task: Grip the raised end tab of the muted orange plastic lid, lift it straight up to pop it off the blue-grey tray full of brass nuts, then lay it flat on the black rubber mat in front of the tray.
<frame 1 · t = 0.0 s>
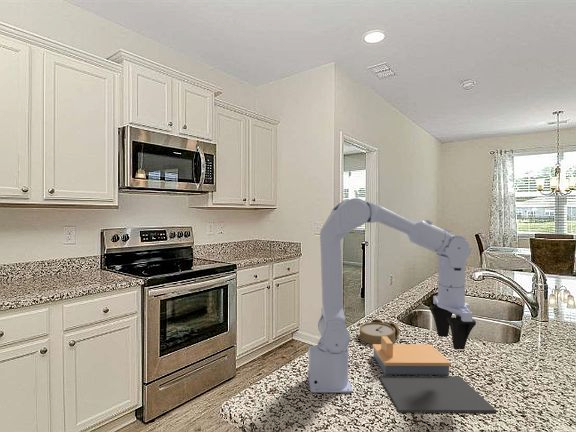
hand: (450, 342, 79), 10 cm above the worktop, tool pointing down, fingers open, 7 cm apart
lid: (409, 355, 89), point 2 cm above the worktop, touching blue-grey tray
alarm clock: (379, 338, 109), on the worktop
blue-grey tray: (409, 365, 89), on the worktop
mat: (432, 393, 75), on the worktop
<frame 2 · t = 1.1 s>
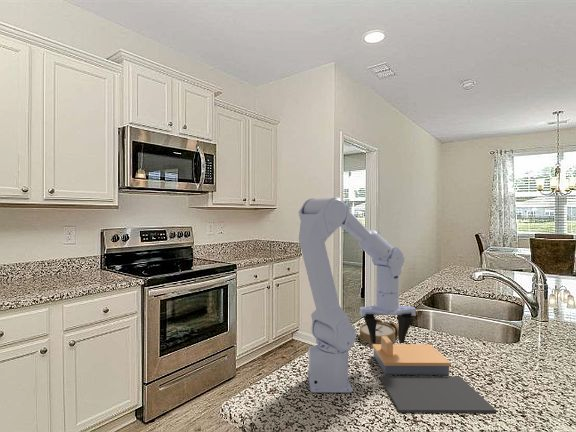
hand: (387, 342, 89), 6 cm above the worktop, tool pointing down, fingers open, 7 cm apart
nothing on the worktop moved.
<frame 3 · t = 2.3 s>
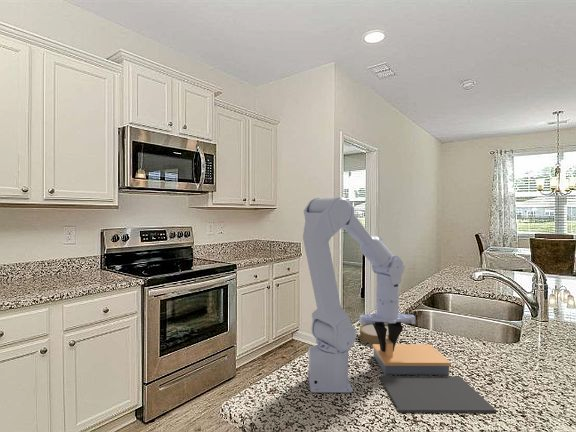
hand: (386, 350, 89), 4 cm above the worktop, tool pointing down, fingers closed on lid
lid: (409, 355, 89), point 2 cm above the worktop, touching gripper, blue-grey tray
everything else where it was.
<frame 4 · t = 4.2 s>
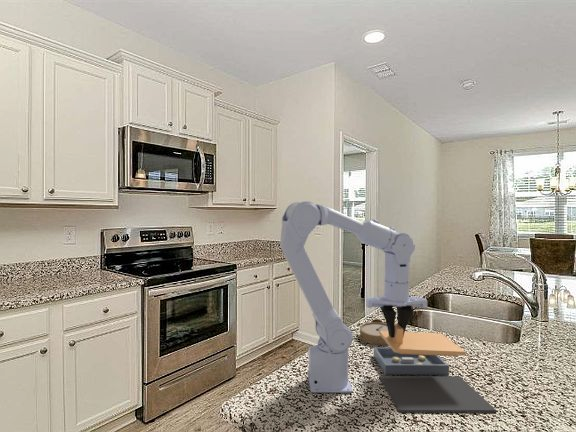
hand: (395, 336, 82), 10 cm above the worktop, tool pointing down, fingers closed on lid
lid: (419, 343, 82), point 8 cm above the worktop, touching gripper
everything else where it was.
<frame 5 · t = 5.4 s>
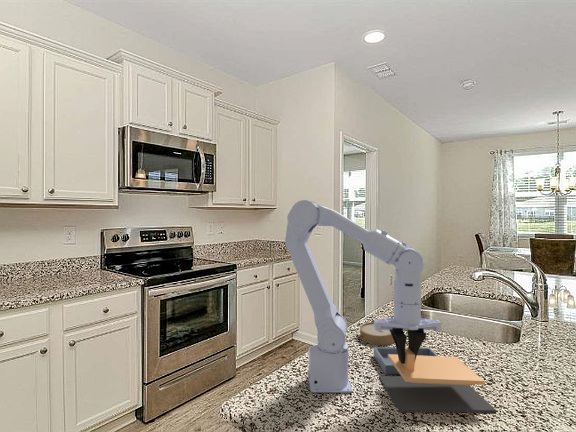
hand: (406, 361, 75), 7 cm above the worktop, tool pointing down, fingers closed on lid
lid: (432, 370, 75), point 5 cm above the worktop, touching gripper
everything else where it was.
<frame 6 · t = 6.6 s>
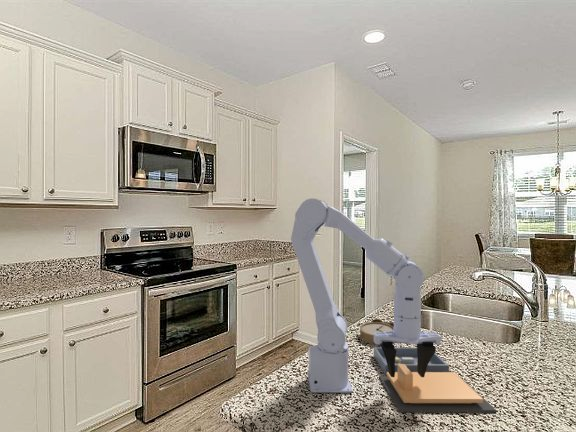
hand: (406, 375, 75), 4 cm above the worktop, tool pointing down, fingers open, 6 cm apart
lid: (431, 388, 75), point 1 cm above the worktop, touching mat
everything else where it was.
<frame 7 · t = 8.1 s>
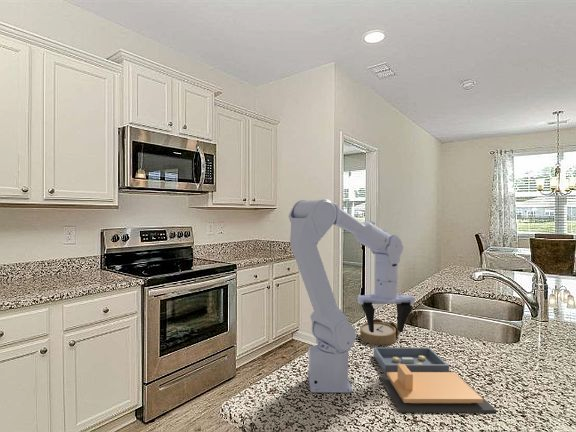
hand: (385, 331, 88), 9 cm above the worktop, tool pointing down, fingers open, 7 cm apart
nothing on the worktop moved.
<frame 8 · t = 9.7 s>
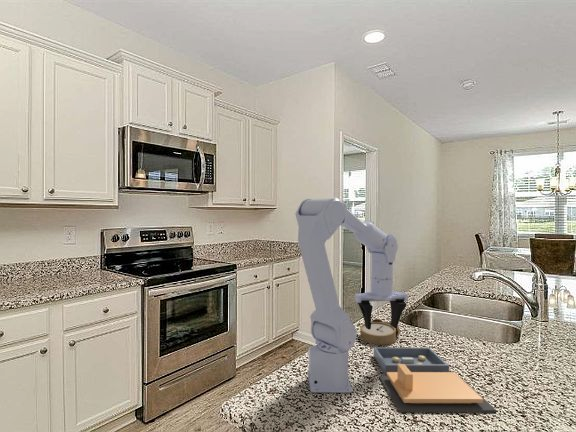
hand: (381, 327, 91), 9 cm above the worktop, tool pointing down, fingers open, 7 cm apart
nothing on the worktop moved.
at the end: lid inside the target area on the mat (0.3 cm from its centre), point 1.3 cm above the mat's base; lid tilted 0°; the gripper is holding nothing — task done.
